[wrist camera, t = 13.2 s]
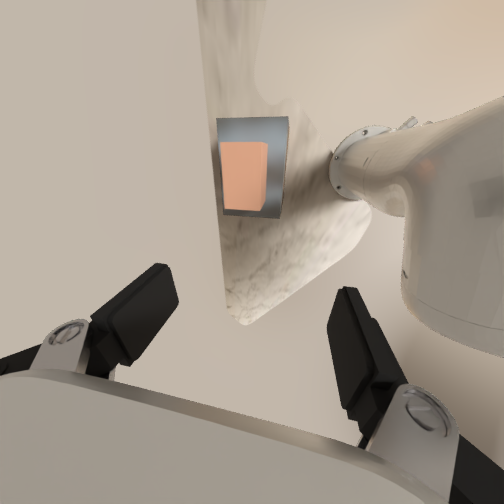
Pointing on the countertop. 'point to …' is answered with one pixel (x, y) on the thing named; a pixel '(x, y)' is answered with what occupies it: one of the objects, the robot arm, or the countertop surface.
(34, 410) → the robot arm
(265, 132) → the shiny metal block
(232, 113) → the countertop surface
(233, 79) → the countertop surface
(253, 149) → the terracotta brick
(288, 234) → the countertop surface
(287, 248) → the countertop surface
